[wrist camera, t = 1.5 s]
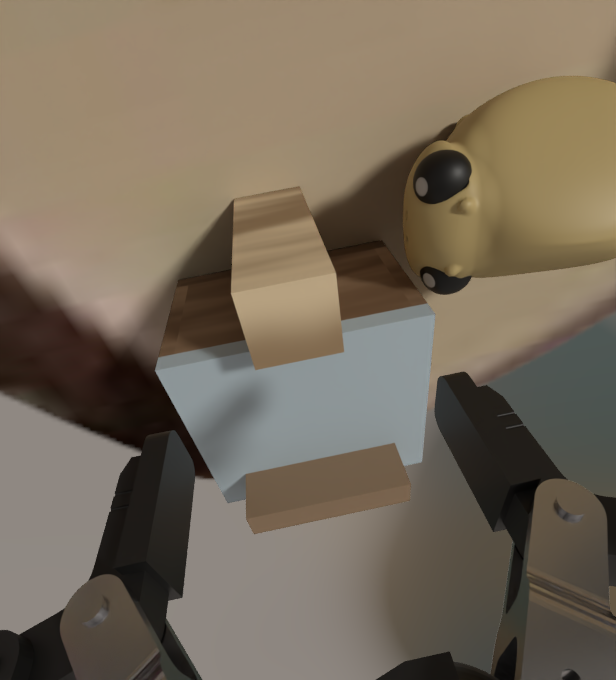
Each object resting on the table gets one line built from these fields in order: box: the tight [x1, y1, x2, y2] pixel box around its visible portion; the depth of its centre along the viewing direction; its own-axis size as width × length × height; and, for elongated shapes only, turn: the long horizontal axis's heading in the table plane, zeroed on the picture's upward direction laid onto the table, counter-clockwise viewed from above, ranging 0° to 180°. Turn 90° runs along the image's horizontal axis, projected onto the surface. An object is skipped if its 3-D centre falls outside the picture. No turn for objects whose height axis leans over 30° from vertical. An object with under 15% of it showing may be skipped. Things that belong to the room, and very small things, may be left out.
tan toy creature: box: [403, 76, 616, 295], centre depth 19 cm, size 10×12×11 cm
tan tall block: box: [231, 187, 344, 370], centre depth 20 cm, size 4×4×11 cm
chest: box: [159, 240, 427, 357], centre depth 26 cm, size 13×14×8 cm
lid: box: [155, 303, 435, 534], centre depth 22 cm, size 13×14×4 cm
